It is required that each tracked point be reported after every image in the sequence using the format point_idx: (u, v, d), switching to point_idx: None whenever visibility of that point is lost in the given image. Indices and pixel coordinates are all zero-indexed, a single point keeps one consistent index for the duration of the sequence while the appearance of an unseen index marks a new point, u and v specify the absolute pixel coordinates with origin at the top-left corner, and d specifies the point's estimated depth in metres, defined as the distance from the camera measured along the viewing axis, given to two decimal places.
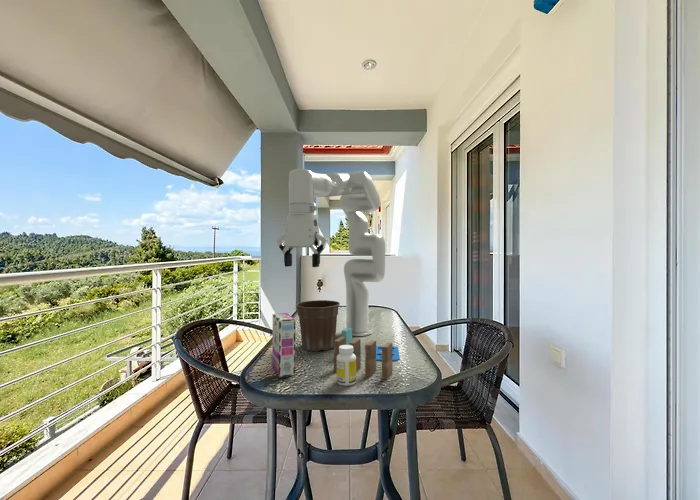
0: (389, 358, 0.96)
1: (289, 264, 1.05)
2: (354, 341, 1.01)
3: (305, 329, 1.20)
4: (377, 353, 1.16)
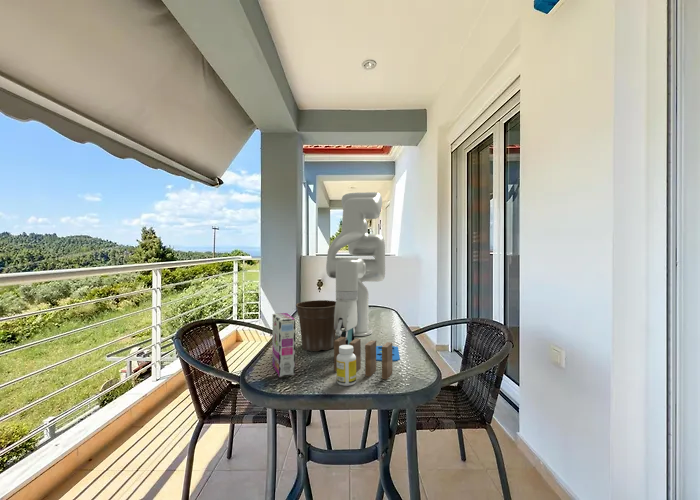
0: (388, 358, 0.96)
1: None
2: (354, 341, 1.01)
3: (305, 329, 1.20)
4: (377, 353, 1.16)
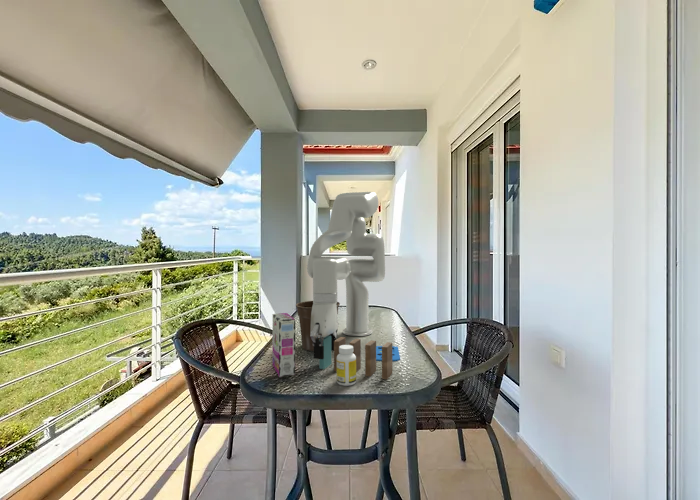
0: (389, 358, 0.96)
1: None
2: (354, 341, 1.01)
3: (305, 329, 1.20)
4: (377, 353, 1.16)
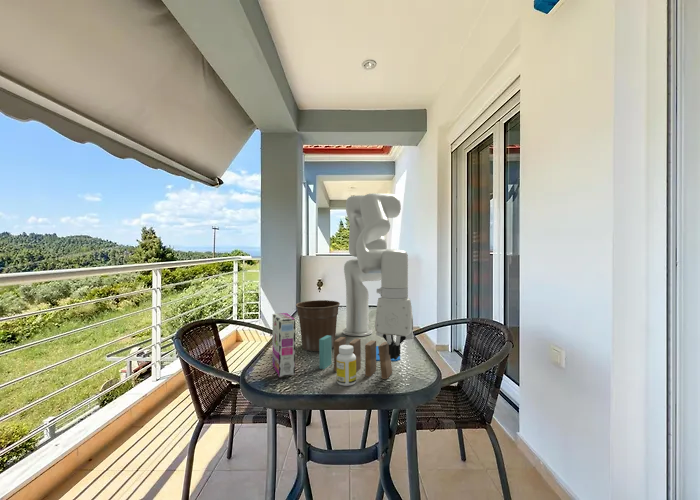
0: (386, 357, 0.96)
1: None
2: (354, 341, 1.01)
3: (305, 329, 1.20)
4: (377, 353, 1.16)
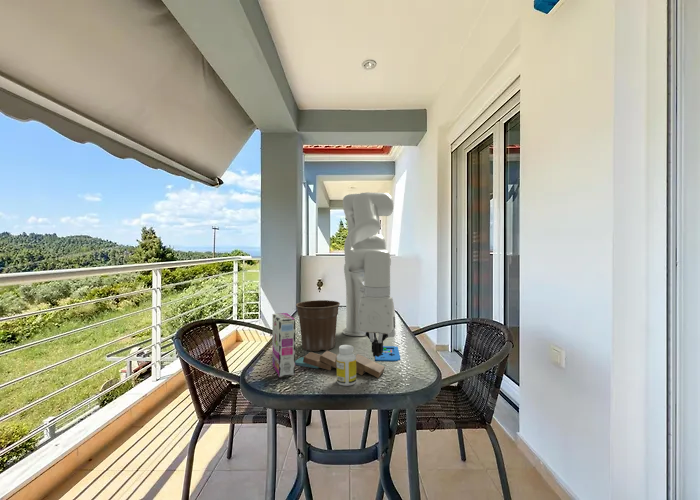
0: (364, 362, 0.99)
1: None
2: None
3: (305, 329, 1.20)
4: None
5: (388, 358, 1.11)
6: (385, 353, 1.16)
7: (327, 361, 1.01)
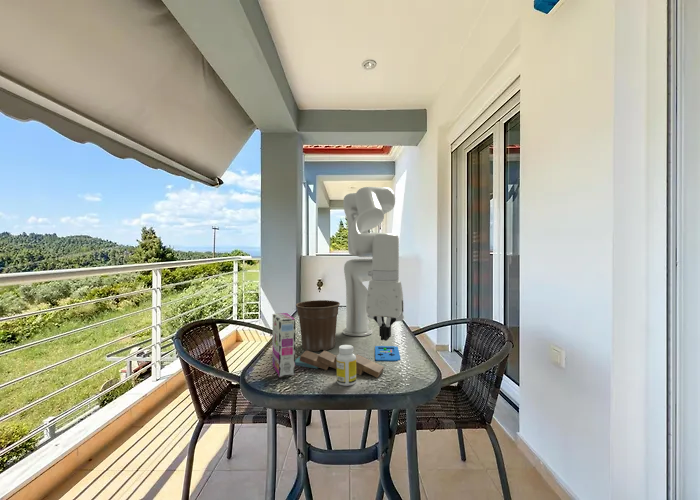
0: (363, 362, 0.99)
1: None
2: None
3: (305, 329, 1.20)
4: (377, 353, 1.16)
5: (388, 358, 1.11)
6: (385, 353, 1.16)
7: (324, 361, 1.02)
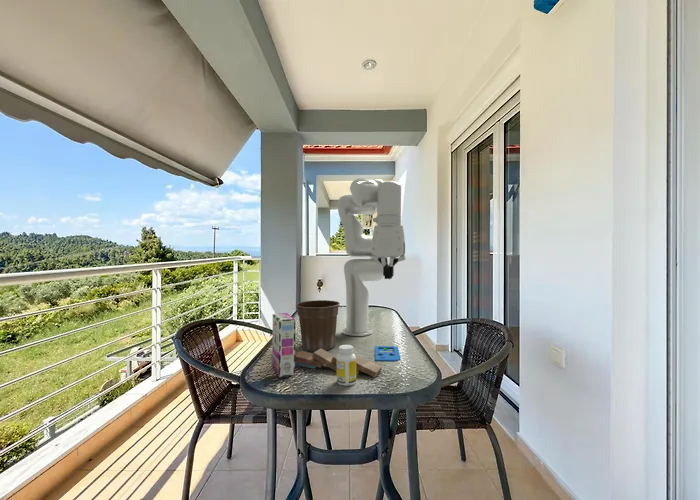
0: (361, 362, 0.99)
1: None
2: None
3: (305, 329, 1.20)
4: (377, 353, 1.16)
5: (388, 358, 1.11)
6: (385, 353, 1.16)
7: (319, 359, 1.02)
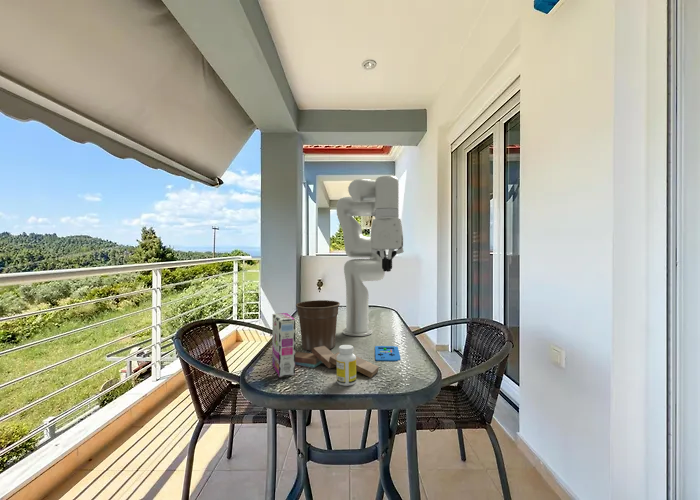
0: (358, 362, 0.99)
1: None
2: None
3: (305, 329, 1.20)
4: (377, 353, 1.16)
5: (388, 358, 1.11)
6: (385, 353, 1.16)
7: (317, 354, 1.06)
